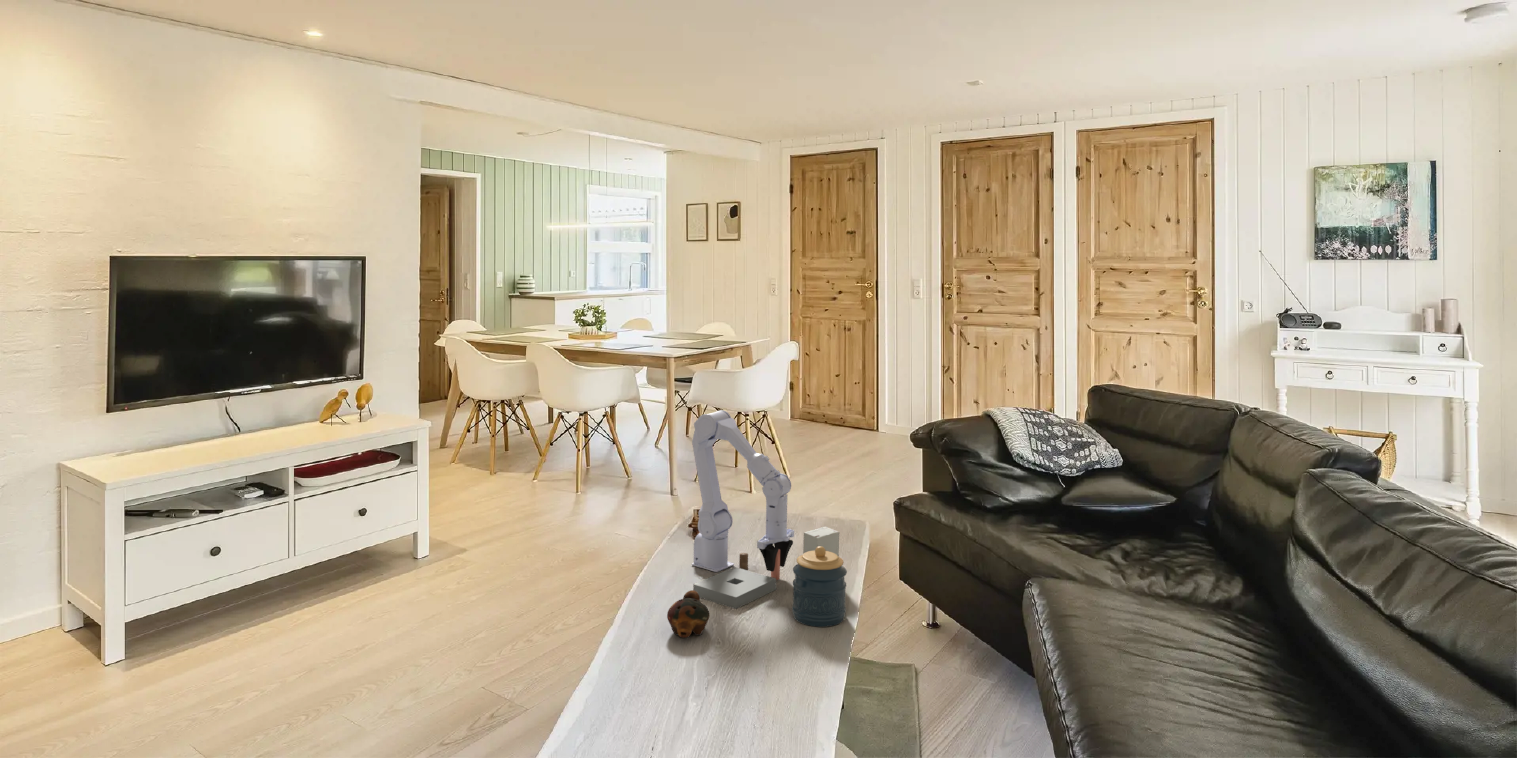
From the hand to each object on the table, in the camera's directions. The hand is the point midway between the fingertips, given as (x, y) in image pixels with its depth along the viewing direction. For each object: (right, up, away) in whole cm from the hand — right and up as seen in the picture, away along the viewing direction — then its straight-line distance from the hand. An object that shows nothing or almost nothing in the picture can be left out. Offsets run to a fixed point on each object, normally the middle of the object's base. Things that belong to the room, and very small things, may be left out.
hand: (775, 568), depth 230 cm
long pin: (0, -3, 0) cm, 3 cm away
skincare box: (+12, -4, -4) cm, 13 cm away
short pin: (-9, -2, +7) cm, 11 cm away
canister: (+10, -6, -25) cm, 28 cm away
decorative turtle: (-21, -7, -35) cm, 41 cm away
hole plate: (-11, -4, -10) cm, 15 cm away
